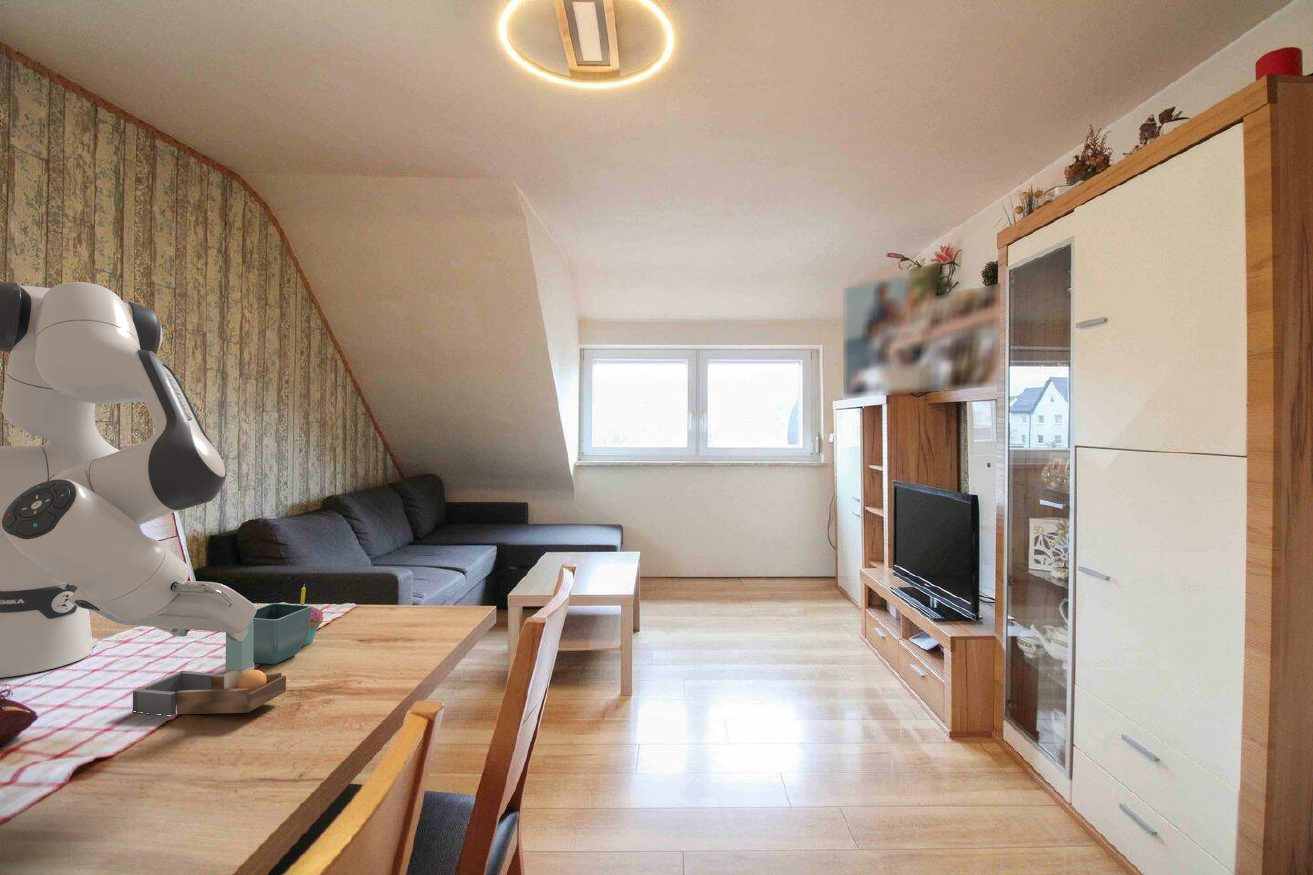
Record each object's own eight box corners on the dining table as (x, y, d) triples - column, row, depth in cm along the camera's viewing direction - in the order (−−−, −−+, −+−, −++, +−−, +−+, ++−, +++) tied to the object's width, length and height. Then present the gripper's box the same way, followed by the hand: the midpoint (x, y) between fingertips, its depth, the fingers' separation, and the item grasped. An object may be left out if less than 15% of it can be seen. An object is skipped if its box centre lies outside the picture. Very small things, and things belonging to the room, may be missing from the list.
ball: (233, 701, 85) (229, 676, 86) (253, 690, 89) (250, 667, 89) (254, 698, 85) (250, 674, 85) (274, 688, 88) (270, 665, 89)
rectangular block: (218, 698, 85) (218, 625, 85) (243, 686, 90) (244, 616, 90) (234, 700, 85) (235, 626, 85) (259, 687, 89) (260, 617, 89)
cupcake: (331, 640, 116) (332, 581, 116) (285, 653, 109) (286, 590, 109) (309, 632, 121) (310, 575, 121) (264, 644, 114) (265, 583, 114)
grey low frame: (132, 712, 86) (132, 691, 86) (182, 690, 93) (182, 670, 93) (170, 716, 85) (170, 694, 85) (217, 693, 92) (217, 673, 92)
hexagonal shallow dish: (175, 713, 85) (175, 683, 85) (214, 694, 92) (214, 666, 92) (250, 721, 83) (251, 690, 83) (285, 701, 90) (286, 672, 90)
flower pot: (275, 670, 102) (276, 619, 102) (232, 666, 103) (232, 616, 103) (313, 652, 110) (313, 605, 110) (272, 649, 112) (273, 602, 112)
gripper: (230, 565, 74) (289, 617, 84) (96, 558, 77) (168, 609, 87) (196, 610, 69) (263, 660, 79) (56, 600, 73) (137, 650, 82)
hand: (212, 633), depth 83 cm, fingers open, 8 cm apart
